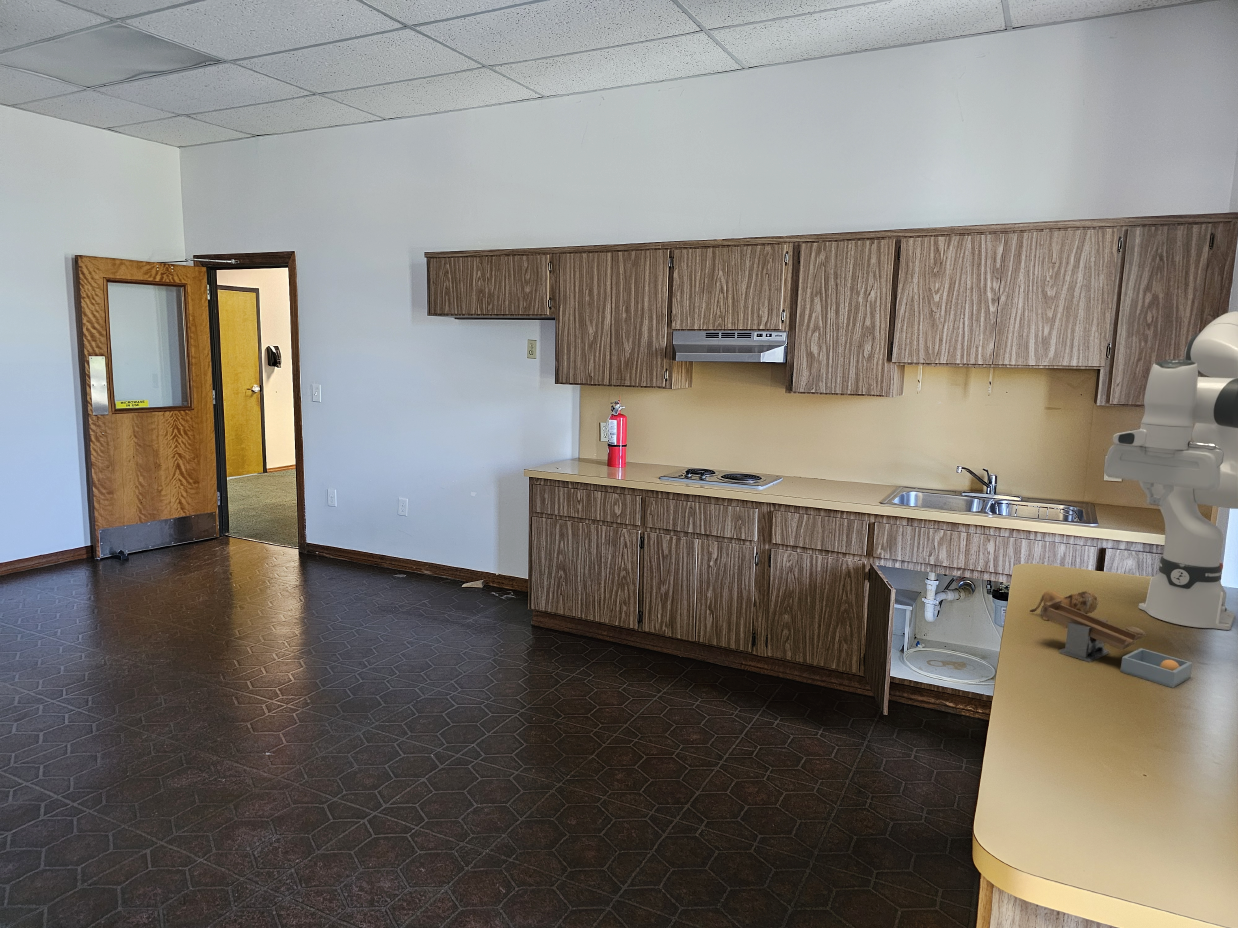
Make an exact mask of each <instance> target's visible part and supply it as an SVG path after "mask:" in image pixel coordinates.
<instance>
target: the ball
mask: <svg viewBox="0 0 1238 928" xmlns="http://www.w3.org/2000/svg"><path fill="white" fill-rule="evenodd" d="M1160 667H1161V668H1164V669H1168V670H1171V671H1173V670H1175V669H1177V668H1179V667H1180V666H1179V665H1178V663H1176V662H1175V661H1173V660H1165V661H1163V662H1162V663H1161V665H1160Z"/></svg>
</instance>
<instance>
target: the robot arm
mask: <svg viewBox="0 0 1238 928" xmlns="http://www.w3.org/2000/svg"><path fill="white" fill-rule="evenodd" d="M1199 375H1202V376H1199ZM1203 375H1204V376H1203ZM1206 376H1207V377H1206ZM1143 405H1144V414H1143V417H1142V419H1141V422H1140V428H1139V429H1130V430H1129V431H1124V432H1118V433H1115V434H1114V435H1113V436H1112V442H1113V444H1112V446H1110V448H1109V449H1108V451H1107V454H1106V458H1105V462H1104V468H1103V473H1104V474H1105V477H1107V478H1113V479H1121V480H1126V481H1135V482H1139V485H1140V487H1141V489H1142V490H1143V491H1144V494H1145V495H1146V496H1147V498H1146V505H1150V506H1156V507H1158V508H1159V510H1160V512H1161V515H1162V517H1163V521H1164V528H1165V529H1164V544H1163V545H1164V546H1163V554H1162V556H1161V557H1160V559H1159V562H1158V571H1159V573H1157V574H1156V575H1154V576H1152V577H1151V578H1150V581H1149V585H1148V591H1147V595H1146V599H1145V602H1140V603H1139V604H1138V609H1140V610H1142V611H1144V612H1146V613H1147V614H1148V615H1149V616H1152V617H1153V618H1156V619H1159V620H1162V621H1164V622H1167V623H1171V624H1175V625H1181V626H1186V627H1190V628H1191V627H1193V628H1202V629H1215V630H1216V629H1218V630H1225V631H1227V630H1228V631H1230V630H1231V628H1232V626H1233V624H1234V621H1235V619H1236V612H1234V611H1232V610H1229V609H1227V607H1226V602H1227V592H1226V590H1225V588H1224V587H1223V584H1222V583H1221V580H1222V574H1223V569H1224V563H1222V562H1221V557H1222V549H1223V545H1224V544H1223V543H1224V534H1223V532H1222V530H1221V528H1219V526H1218V525H1217V524H1216V523H1214V522H1212V521H1210V520H1209V519H1207V518H1206V517H1204V516H1203V515H1202V513H1200V510H1199V507H1198V505H1205V506H1211V507H1218V508H1223V509H1231V510H1233V509H1235V510H1238V311H1231V312H1226V313H1224V314H1222V315H1220V316H1219V317H1216V318H1215V319H1213V320H1212V321H1211V322H1210V323H1208V324H1207V325H1206V326H1205V327H1204V328H1203V330H1202V331H1201V332H1198V333H1196V334H1195V335H1193V336H1191V338H1190V339H1189V340H1188V342H1187V345H1186V347H1185V351H1184V359H1183V358H1181V359H1179V358H1177V359H1176V358H1171V359H1162V360H1158V361H1157V362H1154V363H1153V365H1152V366H1151V369H1150V372H1149V375H1148V379H1147V383H1146V388H1145V393H1144V399H1143Z"/></svg>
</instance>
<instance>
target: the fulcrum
mask: <svg viewBox="0 0 1238 928" xmlns="http://www.w3.org/2000/svg"><path fill="white" fill-rule="evenodd" d="M1094 617H1095V616H1094ZM1095 618H1098V617H1097V616H1096V617H1095ZM1098 619H1100V620H1103V621H1105V622H1108V623H1109V621H1108V620H1106V619H1102V618H1098ZM1066 631H1067V633H1066V639H1065V647H1064V648H1061V649H1059V650H1058V654H1062V655H1065V656H1068V657H1071V658H1074V659H1077V658H1078V660H1081V661H1084V662H1088V663H1091V662H1093V661H1096V660H1097V659H1100V658H1102V657H1104V656H1106V655H1109V654H1110V650H1109V649H1106V648H1105V645H1106V643H1104V642H1101V641H1099V640H1097V639H1094V638H1092V637H1090V634H1091V627H1088V626H1084V625H1080V624H1077V623H1073V622H1069V623H1068V627H1067V630H1066Z"/></svg>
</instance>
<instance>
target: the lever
mask: <svg viewBox="0 0 1238 928" xmlns="http://www.w3.org/2000/svg"><path fill="white" fill-rule="evenodd" d="M1061 602H1062V600H1060V599H1056V600H1053V601H1050V602H1048V603H1045V606H1044V610H1043V613H1042V614H1041V617H1042V618H1043V617H1045V618H1047V619H1049V620H1050V621H1052V622H1054V623H1057V624H1059V625H1062V626H1064V627H1066V628H1068V623H1069V622H1073V623H1077V624H1080V625H1084V626H1088V627H1091V634H1090V637H1092V638H1094V639H1097V640H1099V641H1101V642H1104V643H1105V645H1106V644H1107V645H1109V646H1112V647H1114V648H1116V649H1119V650H1121V651H1124V650H1125V649H1128V648H1130V647H1131V646H1133V645H1135V643H1136V642H1137V641H1138V640H1141V639H1142V638H1144V637H1146V635H1147V632H1146V631H1144V630H1142V629H1141V628H1138V627H1136V626H1129V625H1127V626H1126V628H1123V627H1119V626H1117V625H1115V624H1113V623H1110V622H1109V621H1108V622H1105V621H1103V620H1104V619H1103V620H1100V619H1101V618H1099V619H1098V617H1096V618H1095V616H1092V615H1090V614H1085V613H1083V612H1081V611H1078V610H1076V609H1073V608H1071V607H1068V606H1066V605H1063V604H1061ZM1049 620H1048V621H1049Z"/></svg>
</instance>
